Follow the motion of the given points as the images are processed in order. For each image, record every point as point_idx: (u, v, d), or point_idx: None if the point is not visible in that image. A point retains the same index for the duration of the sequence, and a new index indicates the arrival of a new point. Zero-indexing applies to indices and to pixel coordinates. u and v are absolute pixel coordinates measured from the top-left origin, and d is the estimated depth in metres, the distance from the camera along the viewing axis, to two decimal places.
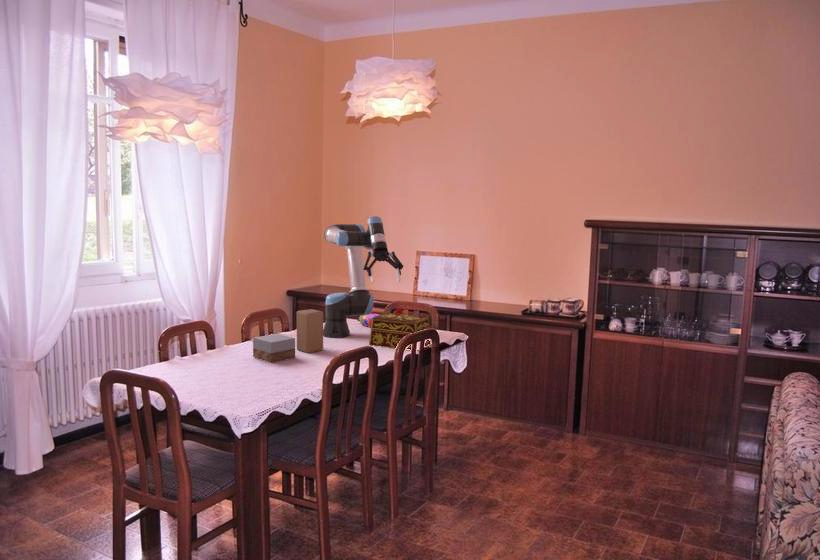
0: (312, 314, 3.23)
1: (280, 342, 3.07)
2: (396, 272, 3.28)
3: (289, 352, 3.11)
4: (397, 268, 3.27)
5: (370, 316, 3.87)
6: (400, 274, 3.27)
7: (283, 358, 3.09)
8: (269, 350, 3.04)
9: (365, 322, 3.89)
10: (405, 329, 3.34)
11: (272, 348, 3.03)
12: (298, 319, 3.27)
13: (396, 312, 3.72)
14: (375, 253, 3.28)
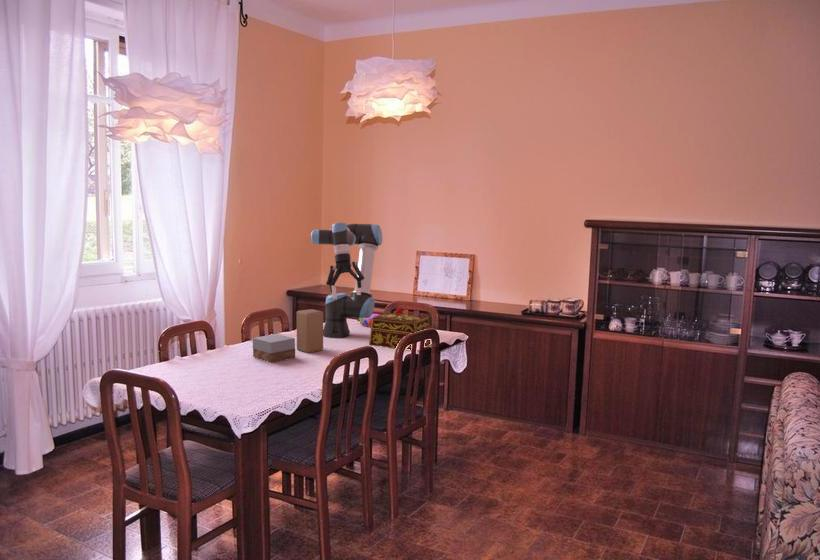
0: (312, 314, 3.23)
1: (280, 342, 3.07)
2: None
3: (289, 352, 3.11)
4: None
5: (370, 316, 3.87)
6: (359, 287, 3.18)
7: (283, 358, 3.09)
8: (269, 350, 3.04)
9: (365, 322, 3.89)
10: (405, 329, 3.34)
11: (272, 348, 3.03)
12: (298, 319, 3.27)
13: (396, 312, 3.72)
14: (336, 266, 3.24)
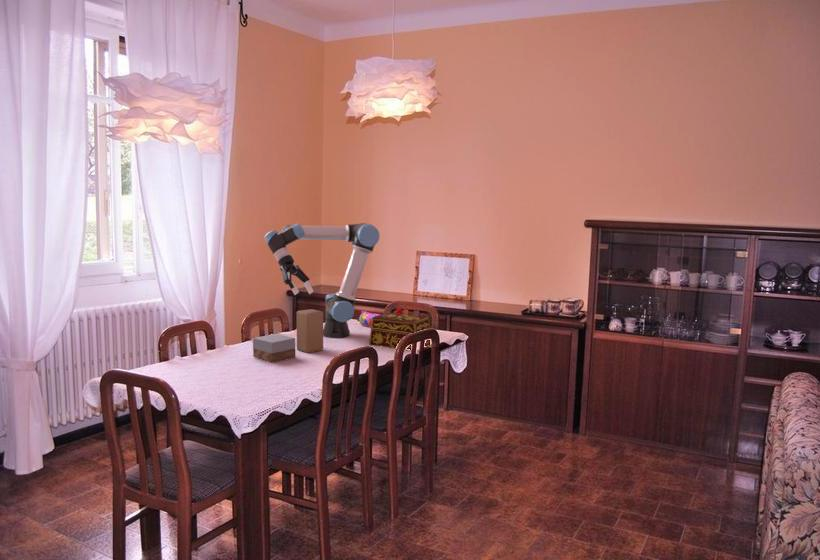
0: (312, 314, 3.23)
1: (281, 342, 3.07)
2: None
3: (289, 352, 3.11)
4: None
5: (370, 316, 3.87)
6: (291, 288, 3.25)
7: (283, 358, 3.09)
8: (270, 350, 3.04)
9: (365, 322, 3.89)
10: (404, 329, 3.34)
11: (273, 348, 3.04)
12: (298, 319, 3.27)
13: (396, 312, 3.72)
14: None
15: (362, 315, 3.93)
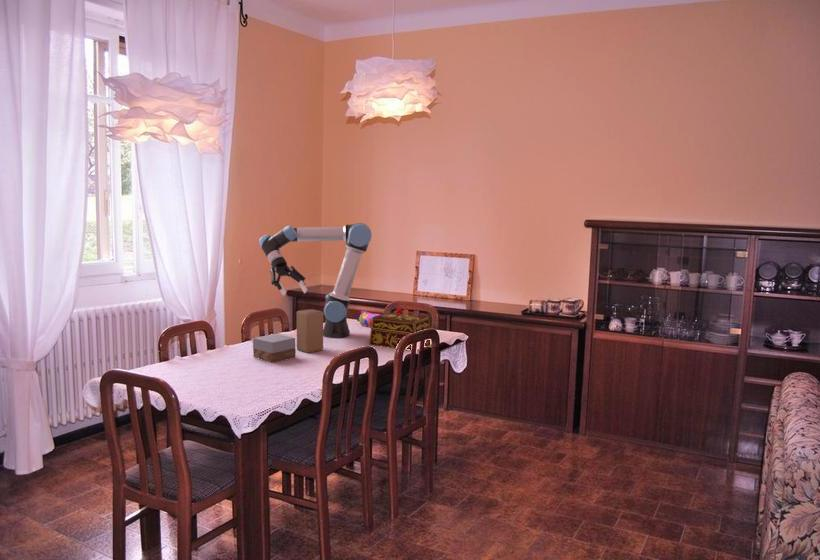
0: (312, 314, 3.23)
1: (281, 342, 3.07)
2: None
3: (289, 352, 3.12)
4: None
5: (370, 316, 3.87)
6: (279, 289, 3.29)
7: (283, 358, 3.09)
8: (270, 350, 3.04)
9: (365, 322, 3.89)
10: (404, 329, 3.34)
11: (273, 348, 3.04)
12: (298, 319, 3.27)
13: (396, 312, 3.72)
14: None
15: (362, 315, 3.93)
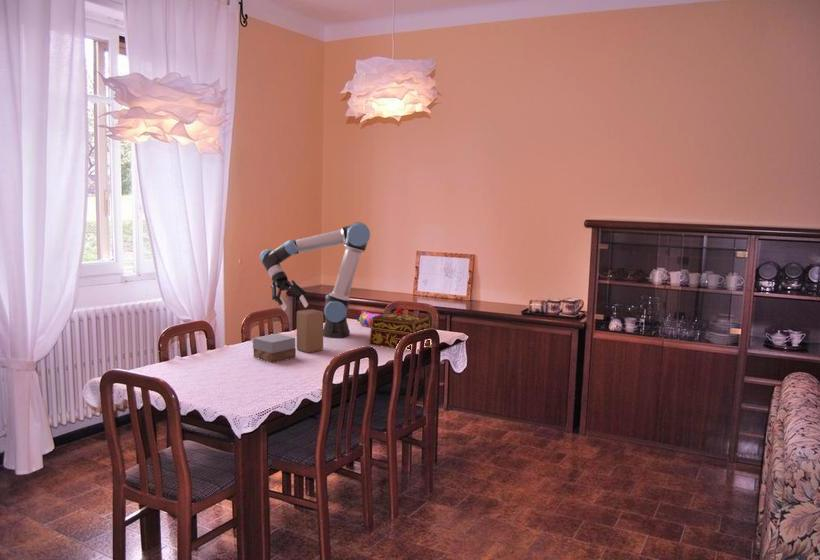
0: (312, 314, 3.23)
1: (281, 342, 3.07)
2: None
3: (289, 352, 3.11)
4: None
5: (370, 316, 3.87)
6: (280, 304, 3.30)
7: (284, 358, 3.09)
8: (270, 350, 3.04)
9: (365, 322, 3.89)
10: (404, 329, 3.34)
11: (273, 348, 3.04)
12: (298, 319, 3.27)
13: (396, 312, 3.72)
14: None
15: (362, 315, 3.93)
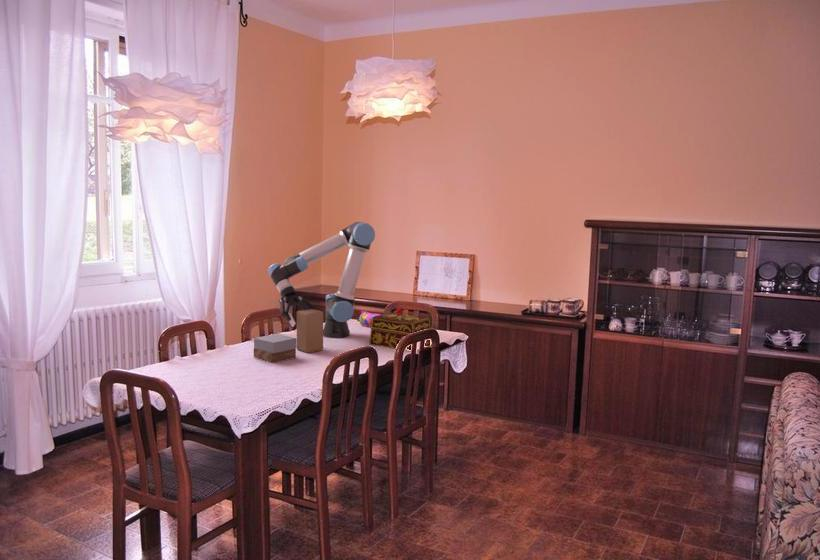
0: (312, 314, 3.23)
1: (282, 342, 3.07)
2: None
3: (290, 352, 3.11)
4: None
5: (371, 316, 3.87)
6: (288, 320, 3.25)
7: (284, 358, 3.09)
8: (271, 350, 3.04)
9: (365, 322, 3.89)
10: (403, 329, 3.34)
11: (274, 348, 3.04)
12: (298, 319, 3.27)
13: (396, 312, 3.72)
14: None
15: (362, 315, 3.93)
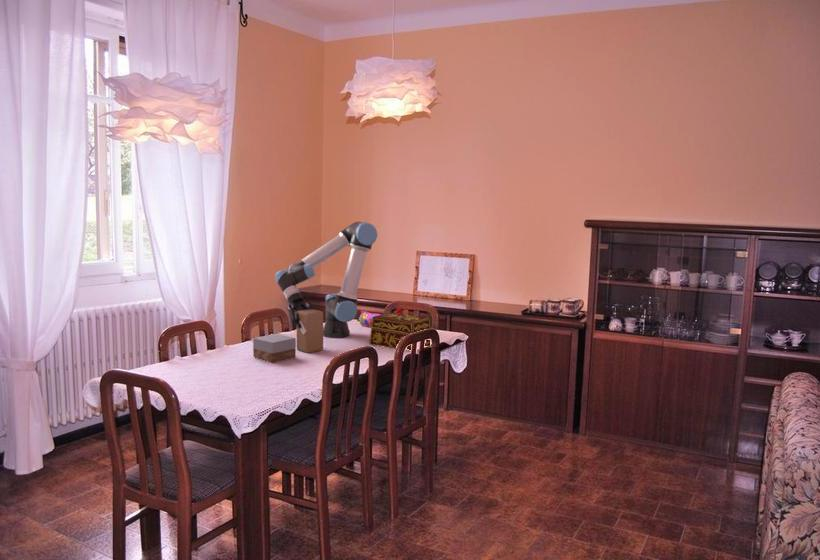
0: (312, 314, 3.23)
1: (281, 342, 3.07)
2: None
3: (289, 352, 3.11)
4: None
5: (371, 316, 3.87)
6: (299, 328, 3.23)
7: (283, 358, 3.09)
8: (270, 350, 3.04)
9: (366, 322, 3.89)
10: (402, 329, 3.34)
11: (273, 348, 3.03)
12: None
13: (396, 312, 3.72)
14: None
15: (362, 315, 3.92)
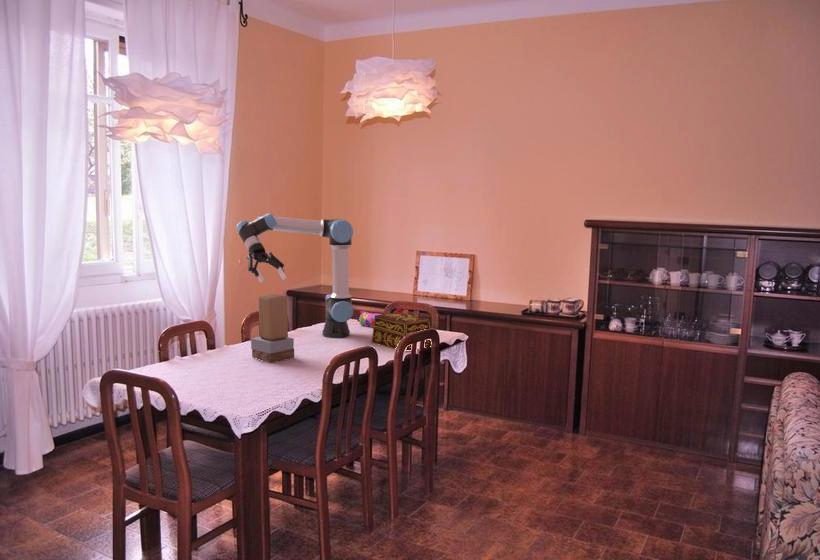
0: (275, 299, 3.05)
1: (279, 342, 3.06)
2: None
3: (288, 352, 3.11)
4: None
5: (372, 316, 3.87)
6: (256, 276, 3.18)
7: (282, 358, 3.09)
8: (268, 350, 3.03)
9: (366, 322, 3.89)
10: (397, 329, 3.34)
11: (271, 348, 3.03)
12: (260, 305, 3.09)
13: (396, 312, 3.72)
14: None
15: (362, 315, 3.92)
